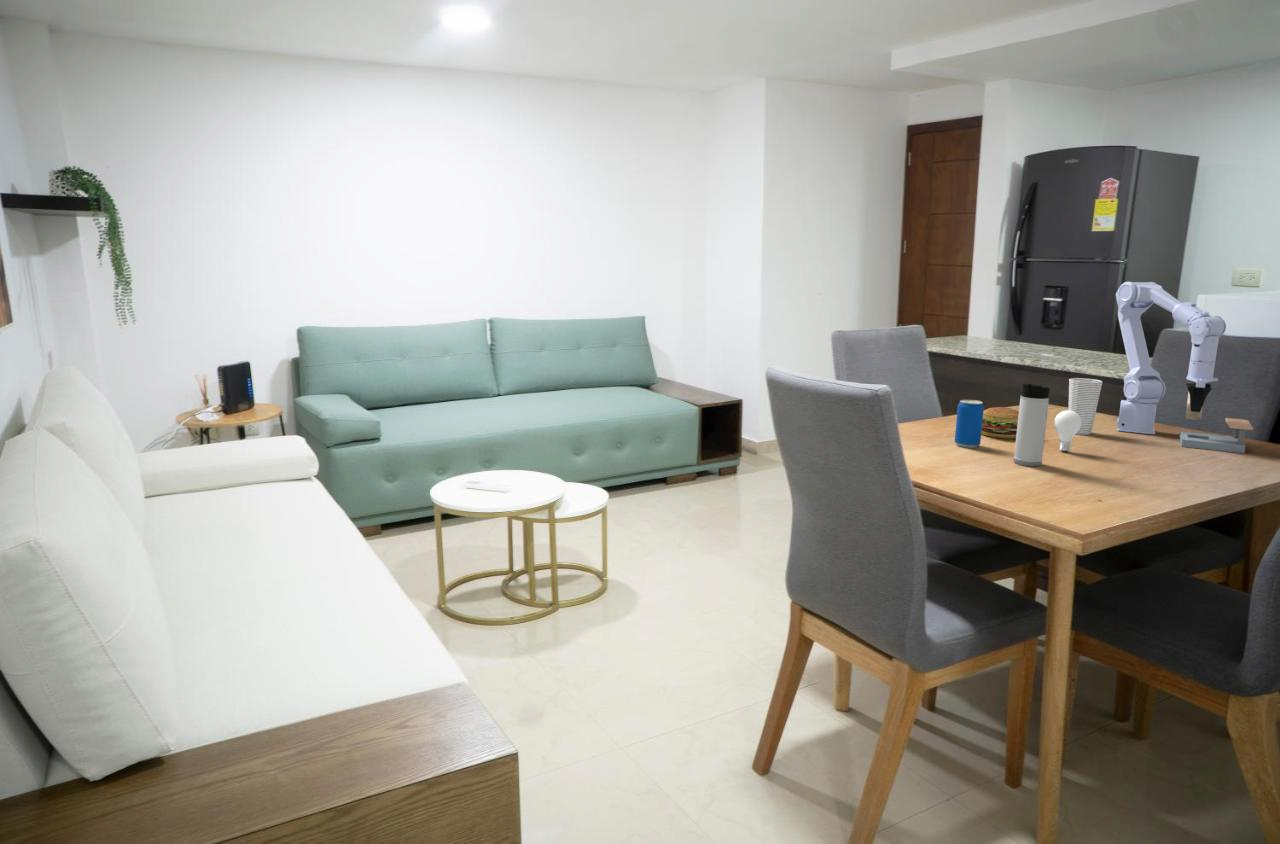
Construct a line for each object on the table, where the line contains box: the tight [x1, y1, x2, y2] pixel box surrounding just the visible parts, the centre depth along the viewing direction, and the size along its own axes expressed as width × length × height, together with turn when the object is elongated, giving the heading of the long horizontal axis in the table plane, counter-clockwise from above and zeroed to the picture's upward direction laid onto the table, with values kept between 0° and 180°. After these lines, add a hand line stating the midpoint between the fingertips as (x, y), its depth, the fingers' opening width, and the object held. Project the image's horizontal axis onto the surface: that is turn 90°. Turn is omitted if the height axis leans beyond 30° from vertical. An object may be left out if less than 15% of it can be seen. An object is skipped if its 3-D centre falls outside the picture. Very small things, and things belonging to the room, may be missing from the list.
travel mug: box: [1013, 382, 1051, 467], centre depth 202 cm, size 6×7×20 cm
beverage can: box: [954, 399, 985, 449], centre depth 222 cm, size 6×6×12 cm
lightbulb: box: [1053, 409, 1082, 453], centre depth 217 cm, size 6×6×11 cm
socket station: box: [1178, 417, 1254, 454], centre depth 227 cm, size 15×13×7 cm
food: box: [981, 406, 1019, 440], centre depth 236 cm, size 14×14×8 cm
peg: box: [1185, 392, 1204, 421], centre depth 227 cm, size 4×4×8 cm
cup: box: [1067, 377, 1103, 436], centre depth 241 cm, size 8×8×16 cm
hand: (1195, 410), depth 228 cm, fingers closed on peg, 4 cm apart
